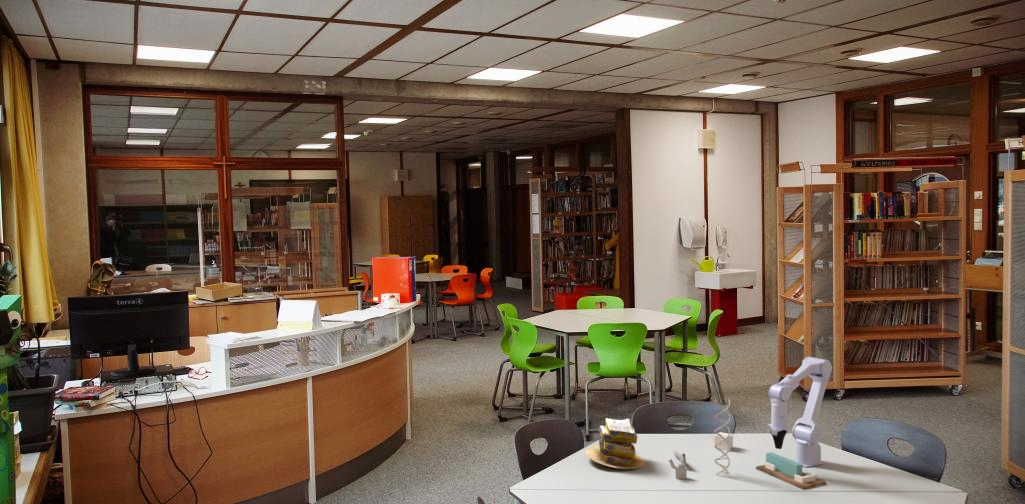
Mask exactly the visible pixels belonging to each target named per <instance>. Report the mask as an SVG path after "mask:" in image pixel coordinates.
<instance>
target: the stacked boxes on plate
mask: <svg viewBox="0 0 1025 504" xmlns="http://www.w3.org/2000/svg"><path fill="white" fill-rule="evenodd" d="M604 423H605V425H599V429H598V432H599V436H598V445H593V446H589V447H587V448H586V449H585V451H584V453H585V455H586V457H588V458H589V459H590V460H592V461H593V462H595V463H598V464H601V465H603V466H607V467H609V468H615V469H620V470H621V469H622V470H636V469H640V468H642V467H643V466H644V465H645V460H644V459H643V458H642V457H641V456H640V455H639V454H636V453H637V452H636V447H635V445H634V444H637V441H638V435H637V433H636V432H635V428H634V427H633V424H632V422H631V421H630V418H626V419H616V418H615V419H613V418H607V417H606V418H605V421H604Z"/></svg>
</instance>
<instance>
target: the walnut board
mask: <svg viewBox="0 0 1025 504" xmlns="http://www.w3.org/2000/svg"><path fill="white" fill-rule="evenodd" d="M755 469H756V470H758V471H761V472H762V473H765V474H767V475H769V476H771V477H774V478H776V479H779V480H781V481H783V482H785V483H787V484H790V485H792V486H794V487H796V488H799V489H801V490H806V489H811V488H816V487H820V486H823V485H824V486H825V485H826V484H827V481H825V480H823V479H821V478H818V477H816V480H815V481H810V482H806V483H800V482H798V481H796V480H794V477H792V476H790V475H787V474H785V473H783V472H780V471H778V470H776V471H772V470H770V469H768V468H765V464H763V465H757V466H756V467H755ZM804 476H806V472H803V471H802V477H804Z"/></svg>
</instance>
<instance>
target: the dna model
mask: <svg viewBox="0 0 1025 504" xmlns="http://www.w3.org/2000/svg"><path fill="white" fill-rule="evenodd" d="M717 401H718V399H715V401H714V403H715V405H716V406H718V407H719V408H721V411H720V412H718V413H717V414H715V415H714V418H715V420H717V421H718V422H720V423H721V424H722V426H719V427H717V428H716V429H714V433H715V435H716V434H717V435H719V436H720V437H721V438H723V439H724V440H722V441H721V442H719V443H717V444H715V448H716V449H715V448H714V449H715V450H717V451H719V452H721V454H722V455H721V456H719V457H717V458H714V462H715V464H716V465H718V466H719V467H721V468H722V470H720V471H718V472H717V473H715V475H719V474H721V473H723V472H726V473H727V474H729V470H727V469H728V468H729V466H730V465H731V459H730V458H729V456H728V455H727V454H729V452H730V450H731V449H730V444H729V442H728V441H727V439H728V438H729V436H730V434H731V430H730V427H729V426H728V424H729V423H730V422H731V415H730V414H731V412H729V411H728V409H729V408H730V407H731V400H730V399H729V398H728V405H725V404H724V405H722V404H719V403H717ZM725 407H726V408H725ZM724 412H725V413H724ZM722 415H723V416H725V415H728V420H724V419H721V418H718V416H722ZM724 427H725V430H728V433H727V434H728V436H725V435H722V436H725V437H727V438H724V437H722V436H721V434H718V433H719V432H717V431H723V430H724ZM724 441H726V442H727V443H723V444H728V446H729V449H728V451H725V450H721V449H718V448H717V447H716V446H717V445H721V444H720V443H722V442H724ZM724 457H725V458H724ZM721 460H727V461H728V463H727V466H726V465H723V464H721V463H719V462H718V461H721Z"/></svg>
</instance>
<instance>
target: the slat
mask: <svg viewBox="0 0 1025 504" xmlns="http://www.w3.org/2000/svg"><path fill="white" fill-rule="evenodd" d="M792 460H793V459H790V458H787V457H785V456H783V455H779V454H777V453H774V452H770V451H769V452H767V453H765V463H766V462H768V463H770V464H773V465H775V466H776V470H778V471H780V472H783V473H785V474H787V475H790V476H792V477H794V475H796V474H797V475H799V476H801V477H802V472H803V466H802V464H800V463H797V462H795V461H792Z"/></svg>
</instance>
